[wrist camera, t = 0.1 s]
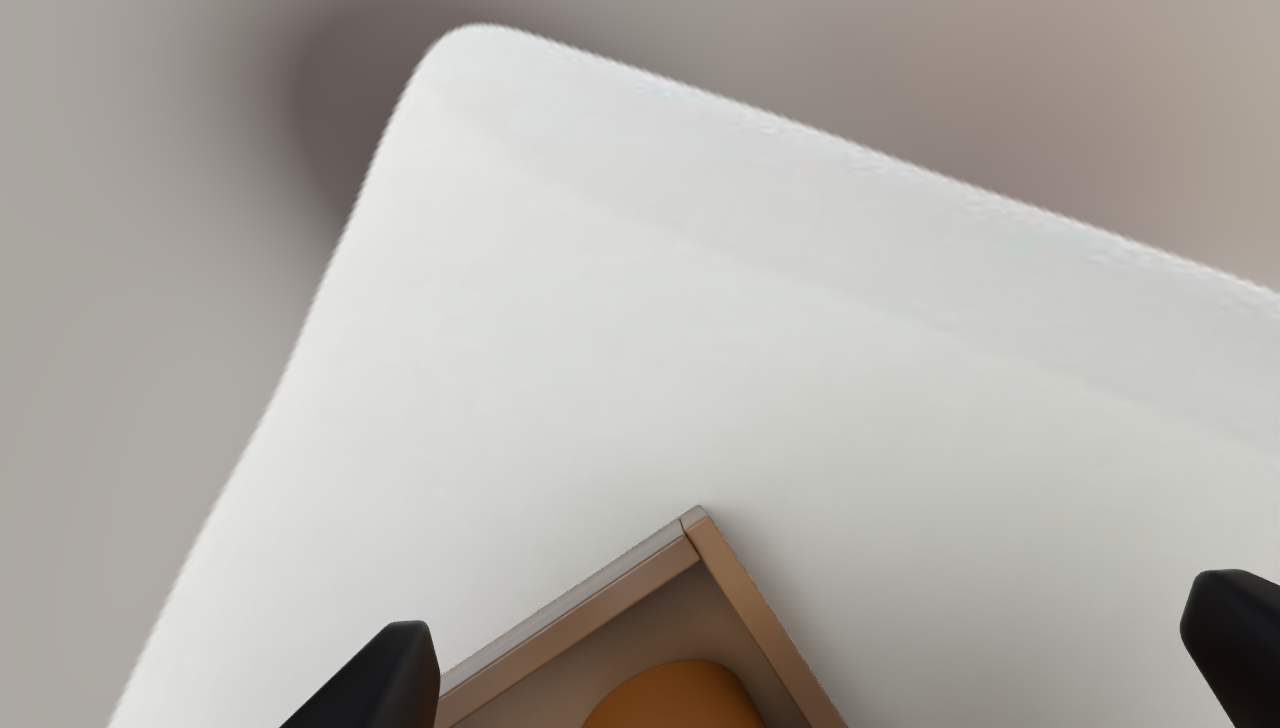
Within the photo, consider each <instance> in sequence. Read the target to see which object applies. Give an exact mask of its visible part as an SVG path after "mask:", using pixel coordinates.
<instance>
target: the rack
mask: <svg viewBox="0 0 1280 728" xmlns="http://www.w3.org/2000/svg"><path fill="white" fill-rule="evenodd" d="M688 659H701V660H709V661H713V662H716V663H719V664H722V665H724V666H726V667H727V668H729V669H730V670H732V671H733V672H734V673H735V674H736V675H737V676H738V677H739V678H740V680H741V682H742V683H743V685H744V687H745V689H746V691H747V692H748V694H749V696H750V698H751V700H752V701H753V703H754V705H755V707H756V709H757V710H758V712H759V714H760V716H761V718H762V719H763V721H764V723H765V725H766V727H767V728H848V726H847V725H846V723H845V722H844V720H843V719H842V717H841V716H840V714H839V713H838V711H837V710H836V708H835V707H834V705H833V703H832V702H831V700H830V699H829V697H828V696H827V694H826V693H825V691H824V690H823V688H822V687H821V685H820V684H819V682H818V681H817V679H816V678H815V676H814V674H813V673H812V671H811V670H810V668H809V667H808V665H807V664H806V662H805V661H804V659H803V658H802V656H801V655H800V653H799V652H798V650H797V649H796V647H795V646H794V644H793V642H792V641H791V639H790V638H789V636H788V635H787V633H786V632H785V630H784V629H783V627H782V626H781V624H780V623H779V621H778V620H777V618H776V617H775V615H774V613H773V612H772V610H771V609H770V607H769V606H768V604H767V603H766V601H765V600H764V598H763V597H762V595H761V594H760V592H759V591H758V589H757V588H756V586H755V584H754V583H753V581H752V580H751V578H750V577H749V575H748V574H747V572H746V571H745V569H744V568H743V566H742V565H741V563H740V562H739V560H738V559H737V557H736V555H735V554H734V552H733V551H732V549H731V548H730V546H729V545H728V543H727V542H726V540H725V539H724V537H723V536H722V534H721V533H720V531H719V530H718V528H717V527H716V525H715V523H714V522H713V520H712V519H711V517H710V516H709V515H708V514H707V513H706V512H705V511H704V510H703V509H702V508H701V506H700V505H696V506H695V507H693V508H692V509H690V510H689V511H687V512H686V513H684V514H683V515H681V516H680V517H678V518H677V519H675V520H674V521H672V522H671V523H669V524H668V525H666V526H665V527H663V528H662V529H660V530H659V531H657V532H656V533H654V534H653V535H651V536H650V537H648V538H647V539H645V540H644V541H642V542H641V543H639V544H638V545H636V546H635V547H633V548H632V549H630V550H629V551H627V552H626V553H624V554H623V555H621V556H620V557H618V558H617V559H615V560H614V561H612V562H611V563H609V564H608V565H607V566H605V567H604V568H602V569H601V570H599V571H598V572H596V573H595V574H593V575H592V576H590V577H589V578H587V579H586V580H584V581H583V582H581V583H580V584H578V585H577V586H575V587H574V588H572V589H571V590H569V591H568V592H566V593H565V594H563V595H562V596H560V597H559V598H557V599H556V600H554V601H553V602H551V603H550V604H548V605H547V606H545V607H544V608H542V609H541V610H539V611H538V612H536V613H535V614H533V615H532V616H530V617H529V618H527V619H526V620H524V621H523V622H521V623H520V624H518V625H517V626H515V627H514V628H512V629H511V630H509V631H508V632H506V633H505V634H503V635H502V636H500V637H499V638H497V639H496V640H494V641H493V642H491V643H490V644H488V645H487V646H485V647H484V648H482V649H481V650H479V651H478V652H476V653H475V654H473V655H472V656H470V657H469V658H467V659H466V660H465V661H463V662H462V663H460V664H459V665H457V666H456V667H454V668H453V669H451V670H450V671H448V672H447V673H445V674H444V675H442V676H441V677H440V682H441V683H440V694H439V700H438V705H437V711H436V717H435V723H434V728H582V726H583V724H584V722H585V721H586V719H587V717H588V716H589V714H590V713H591V712H592V710H593V709H594V708H595V707H596V706H597V705H598V704H599V702H600V701H601V700H602V699H603V698H604V697H606V696H607V695H608V694H609V693H610V692H611V691H612V690H614V689H615V688H616V687H618V686H619V685H620V684H622V683H623V682H625V681H627V680H628V679H630V678H631V677H633V676H635V675H637V674H639V673H641V672H643V671H645V670H648V669H650V668H653V667H655V666H658V665H662V664H665V663H668V662H673V661H678V660H688Z"/></svg>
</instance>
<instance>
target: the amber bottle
mask: <svg viewBox="0 0 1280 728" xmlns="http://www.w3.org/2000/svg"><path fill="white" fill-rule="evenodd" d="M582 728H767V727H766V725H765V723H764V721H763V719H762V718H761V716H760V714H759V712H758V710H757V709H756V707H755V705H754V703H753V701H752V700H751V698H750V696H749V694H748V692H747V691H746V689H745V687H744V685H743V683H742V682H741V680H740V678H739V677H738V676H737V675H736V674H735V673H734V672H733V671H732V670H730V669H729V668H727V667H726V666H724V665H722V664H719V663H716V662H713V661H709V660H701V659H688V660H678V661H673V662H668V663H665V664H662V665H658V666H655V667H653V668H650V669H648V670H645V671H643V672H641V673H639V674H637V675H635V676H633V677H631V678H630V679H628V680H627V681H625V682H623V683H622V684H620V685H619V686H618V687H616V688H615V689H614V690H612V691H611V692H610V693H609V694H608V695H607V696H606V697H604V698H603V699H602V700H601V701H600V702H599V704H598V705H597V706H596V707H595V708H594V709H593V710H592V712H591V713H590V714H589V716H588V717H587V719H586V721H585V722H584V724H583V726H582Z"/></svg>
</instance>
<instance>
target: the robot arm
mask: <svg viewBox="0 0 1280 728" xmlns="http://www.w3.org/2000/svg"><path fill="white" fill-rule="evenodd" d="M1180 634H1181V638H1182V641H1183V643H1184V645H1185V647H1186V649H1187V651H1188V652H1189V654H1190V656H1191V657H1192V659H1193V660H1194V662H1195V664H1196V665H1197V667H1198V668H1199V670H1200V672H1201V673H1202V675H1203V677H1204V678H1205V680H1206V681H1207V683H1208V685H1209V686H1210V688H1211V689H1212V691H1213V693H1214V694H1215V696H1216V697H1217V699H1218V701H1219V702H1220V704H1221V705H1222V707H1223V709H1224V710H1225V712H1226V713H1227V715H1228V717H1229V718H1230V720H1231V722H1232V723H1233V725H1234V726H1235V728H1280V585H1277V584H1275V583H1273V582H1270V581H1268V580H1266V579H1263V578H1261V577H1259V576H1257V575H1254V574H1252V573H1250V572H1247V571H1244V570H1239V569H1225V570H1209V571H1204V572H1201V573H1200V574H1199V575H1198V576H1197V577H1196V578H1195V580H1194V582H1193V585H1192V588H1191V591H1190V594H1189V597H1188V600H1187V603H1186V606H1185V609H1184V612H1183V615H1182V618H1181V621H1180ZM440 683H441V682H440V670H439V665H438V661H437V657H436V654H435V650H434V646H433V642H432V638H431V634H430V630H429V627H428V626H427V624H426V623H425V622H424V621H421V620H415V621H400V622H393V623H390V624H388V625H387V626H385V627H384V628H383V629H382V630H381V631H380V632H379V633H378V634H377V635H376V636H375V637H374V638H373V639H372V640H371V641H370V642H368V643H367V644H366V645H365V646H364V647H363V648H362V649H361V650H360V651H359V652H358V653H357V654H356V655H355V656H354V657H353V658H352V659H351V660H350V661H349V662H348V663H346V664H345V665H344V666H343V667H342V668H341V669H340V670H339V671H338V672H337V673H336V674H335V675H334V676H333V677H332V678H331V679H330V680H329V681H328V682H327V683H326V684H324V685H323V686H322V687H321V688H320V689H319V690H318V691H317V692H316V693H315V694H314V695H313V696H312V697H311V698H310V699H309V700H308V701H307V702H306V703H305V704H304V705H302V706H301V707H300V708H299V709H298V710H297V711H296V712H295V713H294V714H293V715H292V716H291V717H290V718H289V719H288V720H287V721H286V722H285V723H284V724H283V725H281V726H280V727H279V728H434V723H435V717H436V711H437V705H438V700H439V694H440Z"/></svg>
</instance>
